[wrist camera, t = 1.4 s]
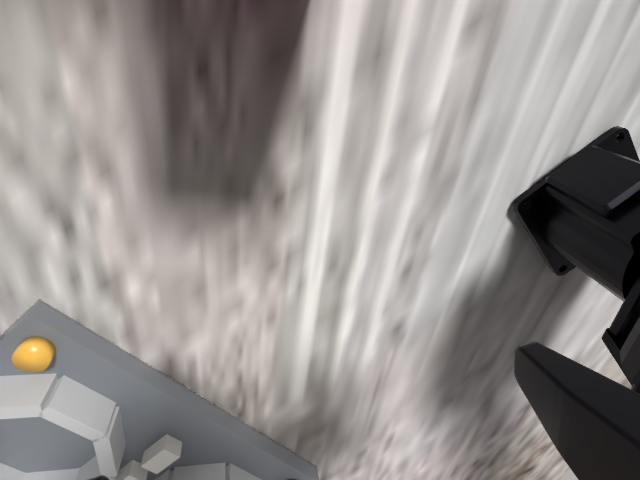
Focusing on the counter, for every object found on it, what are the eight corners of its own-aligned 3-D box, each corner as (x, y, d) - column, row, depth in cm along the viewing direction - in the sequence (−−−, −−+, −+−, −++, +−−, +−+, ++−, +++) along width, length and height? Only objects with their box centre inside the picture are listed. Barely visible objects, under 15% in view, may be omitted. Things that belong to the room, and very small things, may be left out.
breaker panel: (316, 466, 30) (323, 511, 28) (193, 549, 33) (188, 598, 30) (39, 299, 20) (7, 343, 18) (-109, 436, 23) (-157, 494, 20)
